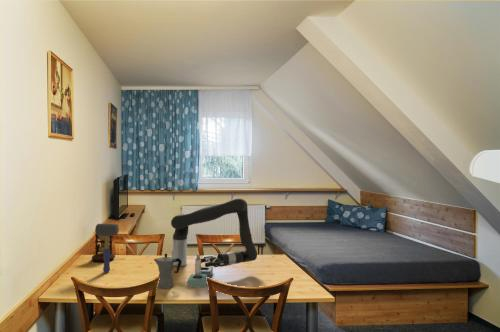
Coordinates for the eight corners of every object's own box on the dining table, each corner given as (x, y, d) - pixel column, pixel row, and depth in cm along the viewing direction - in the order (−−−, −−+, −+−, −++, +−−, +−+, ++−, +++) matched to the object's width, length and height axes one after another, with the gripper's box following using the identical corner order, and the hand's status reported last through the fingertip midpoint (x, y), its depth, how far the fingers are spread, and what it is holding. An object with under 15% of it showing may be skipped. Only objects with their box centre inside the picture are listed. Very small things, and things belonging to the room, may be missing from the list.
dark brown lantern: (117, 256, 255) (118, 228, 254) (111, 262, 240) (111, 233, 239) (96, 256, 254) (96, 228, 253) (88, 262, 239) (88, 232, 239)
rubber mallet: (118, 270, 225) (119, 222, 224) (115, 274, 218) (115, 224, 217) (98, 270, 224) (99, 222, 224) (93, 274, 217) (94, 224, 216)
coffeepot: (151, 288, 195) (151, 255, 195) (155, 282, 205) (156, 251, 204) (179, 289, 195) (180, 256, 195) (182, 283, 205) (183, 251, 204)
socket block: (195, 277, 215) (195, 270, 215) (198, 272, 224) (198, 266, 224) (210, 278, 214) (210, 271, 214) (212, 273, 223) (212, 266, 223)
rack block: (187, 286, 200) (187, 279, 200) (191, 280, 209) (191, 274, 209) (204, 287, 199) (204, 280, 199) (207, 281, 209) (207, 274, 208)
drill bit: (194, 284, 203) (194, 254, 202) (195, 282, 206) (195, 253, 206) (200, 284, 203) (200, 254, 202) (201, 283, 206) (201, 253, 205)
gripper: (220, 250, 220) (196, 253, 211) (232, 255, 208) (207, 259, 199) (220, 262, 220) (196, 266, 211) (232, 268, 208) (207, 273, 199)
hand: (201, 263), depth 205 cm, fingers open, 8 cm apart
